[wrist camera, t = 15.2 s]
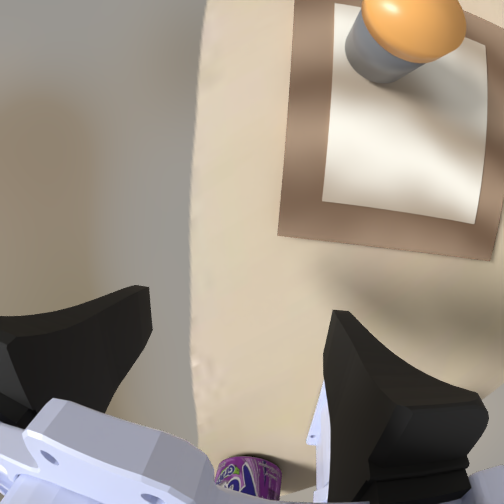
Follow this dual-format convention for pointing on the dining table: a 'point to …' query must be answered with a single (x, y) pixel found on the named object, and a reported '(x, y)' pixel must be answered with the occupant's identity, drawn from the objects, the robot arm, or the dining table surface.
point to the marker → (402, 36)
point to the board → (393, 142)
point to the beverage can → (250, 476)
